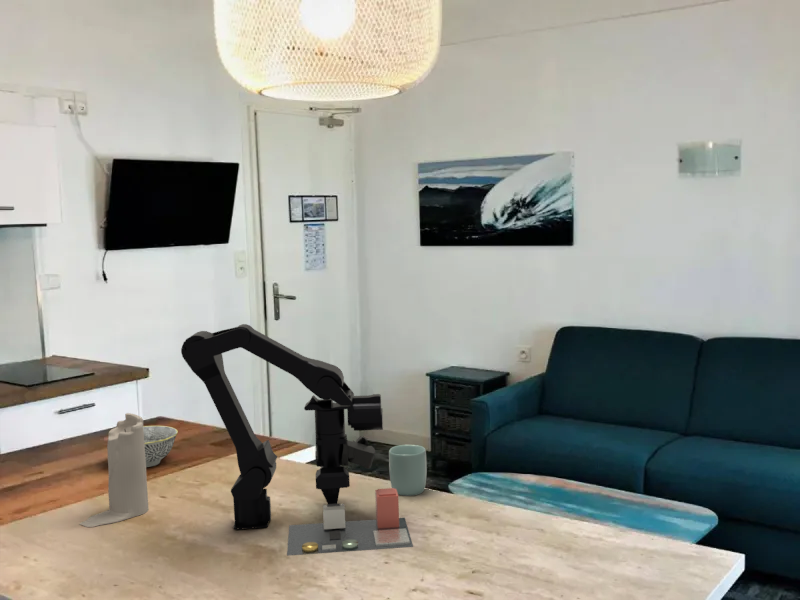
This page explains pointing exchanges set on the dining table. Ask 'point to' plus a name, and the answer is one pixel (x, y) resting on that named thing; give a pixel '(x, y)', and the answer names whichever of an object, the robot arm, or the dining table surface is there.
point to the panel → (346, 537)
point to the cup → (407, 469)
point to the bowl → (158, 443)
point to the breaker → (334, 516)
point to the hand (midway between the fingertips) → (333, 509)
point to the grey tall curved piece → (125, 473)
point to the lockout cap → (387, 508)
